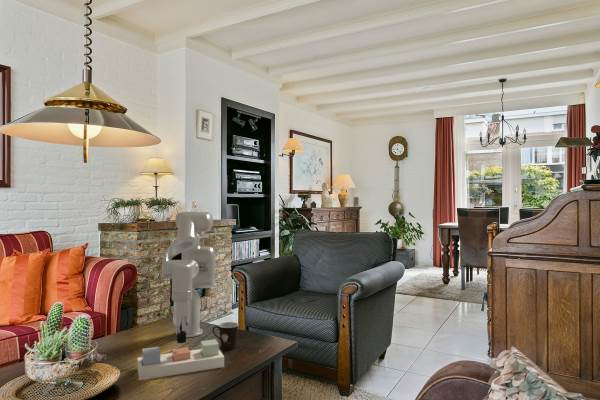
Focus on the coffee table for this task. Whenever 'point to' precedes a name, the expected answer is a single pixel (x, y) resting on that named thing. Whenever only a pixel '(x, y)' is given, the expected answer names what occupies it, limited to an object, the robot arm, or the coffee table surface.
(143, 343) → the coffee table surface
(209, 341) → the sage button
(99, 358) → the rabbit figure
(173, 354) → the terracotta button
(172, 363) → the button panel
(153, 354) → the slate button
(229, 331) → the coffee mug
